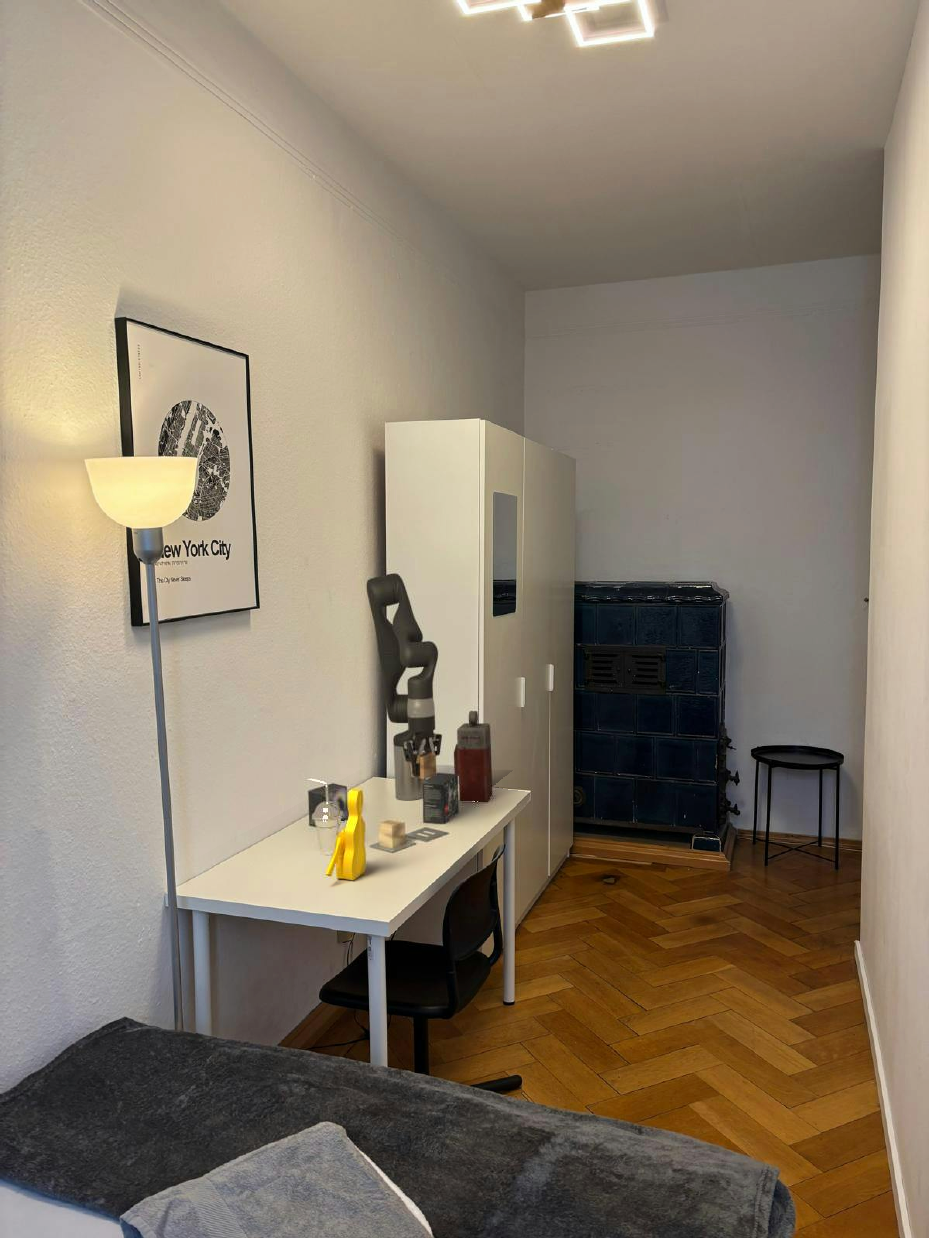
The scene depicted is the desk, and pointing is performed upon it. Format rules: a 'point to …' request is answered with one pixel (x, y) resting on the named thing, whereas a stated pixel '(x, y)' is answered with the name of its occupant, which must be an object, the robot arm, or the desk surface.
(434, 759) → the walnut block
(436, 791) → the small box
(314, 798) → the small box
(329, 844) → the cup with straw
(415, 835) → the code tile
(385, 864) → the desk surface
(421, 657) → the robot arm
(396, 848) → the code tile
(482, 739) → the red grey bottle
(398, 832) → the maple block
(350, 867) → the figure statuette
